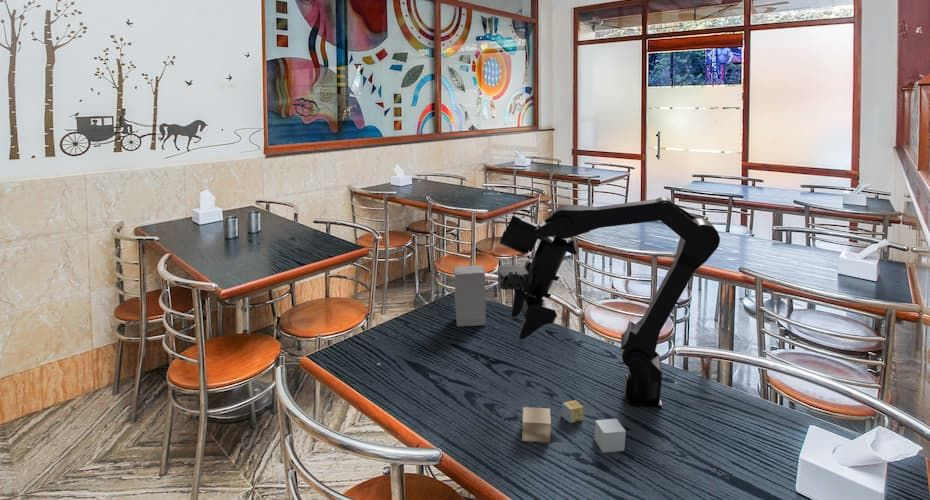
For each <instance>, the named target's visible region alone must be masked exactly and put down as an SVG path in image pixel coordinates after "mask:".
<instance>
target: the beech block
mask: <svg viewBox="0 0 930 500" xmlns="http://www.w3.org/2000/svg"><path fill="white" fill-rule="evenodd" d="M551 420H552V419H551V408H545V407H544V408H543V407H526V406H525V407H524V406H523V407H522V431H521V432H522V435H521V436H522V437H521V438H522V439H521V442H522V441H525V442H538V443H551V427H552V426H551V424H552V423H551Z"/></svg>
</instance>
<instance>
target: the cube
mask: <svg viewBox="0 0 930 500" xmlns="http://www.w3.org/2000/svg"><path fill="white" fill-rule="evenodd" d="M626 434H627V431H626V429H625V428H624V426H622V424H621V423H620V421H619V420H618V418H607V419H596V420H595V424H594V437H593V439H594V441H595V443H596V444H597V446H598V447H599V450H600V451H601V452H602V454H604V453H611V452H612V453H613V452H614V453H615V452H624V451H625V446H626Z"/></svg>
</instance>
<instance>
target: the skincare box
mask: <svg viewBox="0 0 930 500" xmlns="http://www.w3.org/2000/svg"><path fill="white" fill-rule="evenodd" d="M453 272H454V299H455V301H454V303H455V305H454V306H455V320H456V321H455V322H456V327H473V326H475V327H476V326H486V324H487V323H486V322H487V321H486V320H487V319H486V317H487V316H486V314H487V313H486V282H485V280H486V277H485V276H486V273H485V269H484V265H471V266H470V265H469V266H468V265H466V266H454V271H453Z"/></svg>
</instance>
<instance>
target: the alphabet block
mask: <svg viewBox="0 0 930 500" xmlns="http://www.w3.org/2000/svg"><path fill="white" fill-rule="evenodd" d="M584 408H585V407H584V405H583V404H581V403H580V402H579V401H577V400H576V399H574V400H570V401H566V402H562V403H561V417H562V418H563V419H564V420H565V421H567V422H568V424H572V423H575V422H576V423H577V422H581V421H583V420H584Z"/></svg>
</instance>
